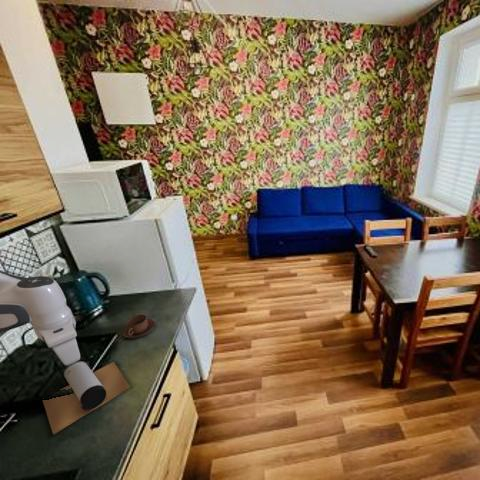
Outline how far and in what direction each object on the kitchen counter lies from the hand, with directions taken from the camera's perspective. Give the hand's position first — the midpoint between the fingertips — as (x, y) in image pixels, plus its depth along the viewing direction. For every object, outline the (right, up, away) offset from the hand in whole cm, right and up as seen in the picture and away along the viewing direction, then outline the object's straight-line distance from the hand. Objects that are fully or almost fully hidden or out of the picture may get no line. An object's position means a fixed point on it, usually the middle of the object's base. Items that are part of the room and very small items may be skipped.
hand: (71, 358), depth 87 cm
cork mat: (+2, -14, +4) cm, 14 cm away
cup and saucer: (+1, -2, +32) cm, 32 cm away
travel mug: (-7, -8, +8) cm, 13 cm away
